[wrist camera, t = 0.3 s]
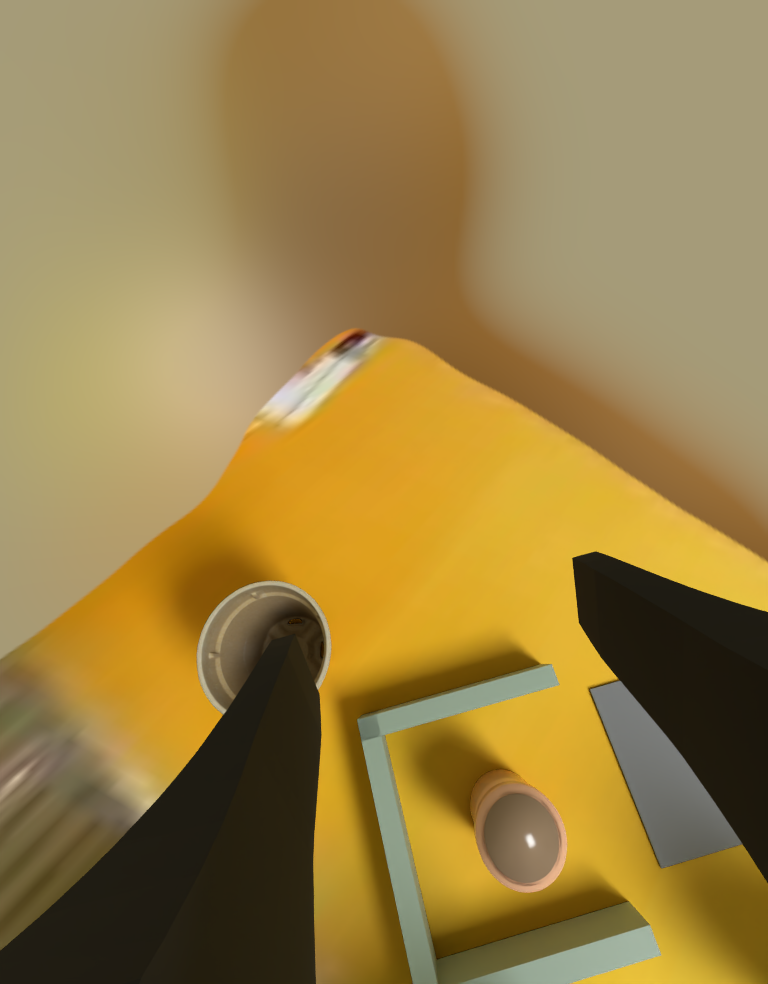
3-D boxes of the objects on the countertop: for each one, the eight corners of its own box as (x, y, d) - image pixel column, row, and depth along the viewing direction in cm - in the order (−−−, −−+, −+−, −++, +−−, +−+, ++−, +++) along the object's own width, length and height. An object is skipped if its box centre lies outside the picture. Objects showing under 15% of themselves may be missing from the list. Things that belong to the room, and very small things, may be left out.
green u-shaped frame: (638, 928, 30) (661, 955, 28) (421, 994, 30) (422, 1028, 27) (541, 664, 37) (551, 664, 34) (361, 715, 36) (357, 719, 33)
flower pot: (264, 733, 36) (221, 754, 28) (227, 627, 40) (179, 618, 32) (366, 677, 37) (353, 681, 29) (321, 578, 41) (298, 557, 33)
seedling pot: (553, 840, 32) (582, 878, 27) (480, 862, 32) (494, 905, 27) (525, 756, 34) (546, 774, 29) (456, 776, 34) (464, 798, 29)
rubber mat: (778, 831, 32) (780, 832, 32) (660, 867, 31) (661, 868, 31) (693, 659, 36) (695, 659, 36) (589, 689, 36) (590, 689, 36)
